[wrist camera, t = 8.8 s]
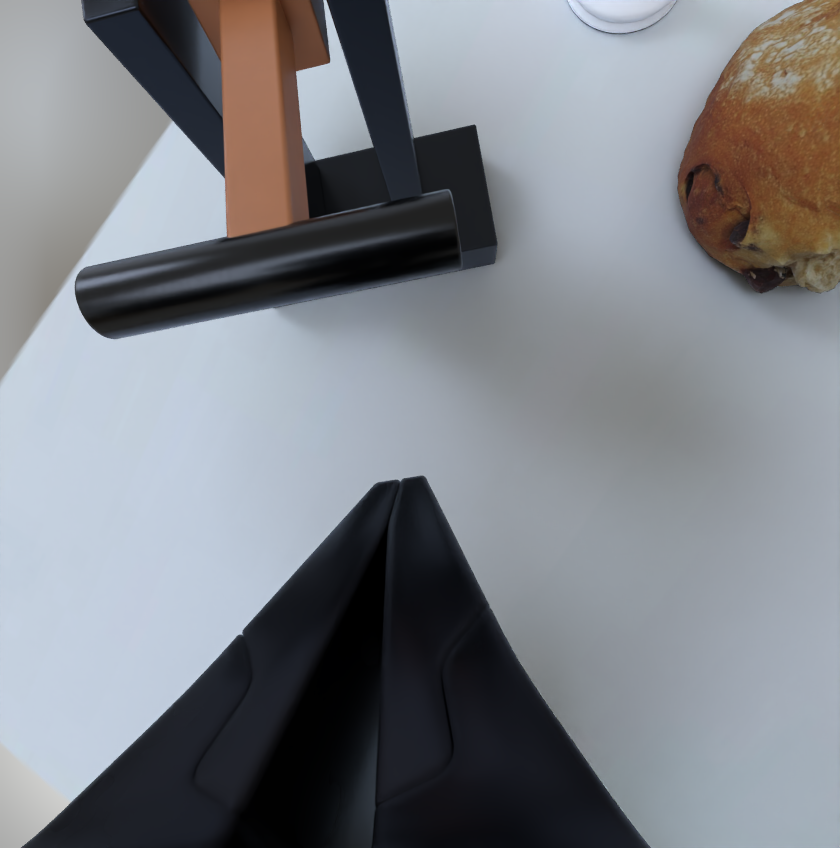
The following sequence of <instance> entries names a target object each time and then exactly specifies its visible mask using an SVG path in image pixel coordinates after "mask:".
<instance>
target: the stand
mask: <svg viewBox="0 0 840 848" xmlns="http://www.w3.org/2000/svg"><path fill="white" fill-rule="evenodd" d="M81 2H82V9H83V17H84V21H85V23H86V25H87V26H88V27H89V28H90V29H91V30H92V31H93V32H94V33H95V34H96V36H97V37H98V38H99V39H100V40H101V41H102V42H103V43H104V45H105V46H106V47H107V48H108V49H109V50H110V51H111V52H112V53H113V55H114V56H115V57H116V58H117V59H118V60H119V61H120V62H121V63H122V65H123V66H124V67H125V68H126V69H127V70H128V71H129V72H130V73H131V75H132V76H133V77H134V78H135V79H136V80H137V81H138V82H139V83H140V84H141V86H142V87H143V88H144V89H145V90H146V91H147V92H148V93H149V95H150V96H151V97H152V98H153V99H154V100H155V101H156V102H157V103H158V105H159V106H160V107H161V108H162V109H163V110H164V111H165V112H166V113H167V115H168V116H169V117H170V118H171V119H172V120H173V121H174V122H175V124H176V125H177V126H178V127H179V128H180V129H181V130H182V131H183V132H184V134H185V135H186V136H187V137H188V138H189V139H190V140H191V141H192V142H193V144H194V145H195V146H196V147H197V148H198V149H199V150H200V151H201V152H202V154H203V155H204V156H205V157H206V158H207V159H208V160H209V161H210V162H211V164H212V165H213V166H214V167H215V168H216V169H217V170H218V171H219V172H220V174H221V175H222V176H223V177H224V178H225V162H224V133H223V104H222V75H221V61H220V60H219V58H218V56H217V54H216V52H215V50H214V48H213V47H212V45H211V43H210V41H209V39H208V37H207V36H206V34H205V32H204V30H203V28H202V26H201V24H200V23H199V21H198V19H197V17H196V15H195V13H194V12H193V10H192V8H191V6H190V4H189V2H188V0H81ZM327 3H328V6H329V9H330V12H331V15H332V18H333V22H334V25H335V28H336V31H337V34H338V37H339V40H340V43H341V46H342V50H343V53H344V56H345V59H346V62H347V65H348V68H349V71H350V74H351V78H352V81H353V84H354V87H355V90H356V93H357V96H358V99H359V103H360V106H361V109H362V112H363V115H364V118H365V121H366V124H367V127H368V131H369V134H370V137H371V140H372V143H373V146H374V148H369V149H365V150H360V151H356V152H352V153H347V154H343V155H338V156H334V157H330V158H325V159H321V160H316V161H315V160H314V158H313V156H312V154H311V152H310V150H309V148H308V147H307V145H306V143H305V141H304V139H303V137H302V145H303V156H304V167H305V178H306V189H307V200H308V211H309V219H311V218H315V217H320V216H325V215H329V214H334V213H338V212H343V211H348V210H352V209H357V208H361V207H366V206H371V205H375V204H380V203H385V202H389V201H394V200H398V199H403V198H408V197H412V196H417V195H422V194H426V193H431V192H435V191H440V190H445V189H449V190H450V192H451V194H452V198H453V203H454V209H455V214H456V220H457V226H458V232H459V239H460V246H461V254H462V269H461V270H465V269H470V268H475V267H480V266H485V265H490V264H494V263H495V259H496V251H497V238H496V233H495V227H494V222H493V217H492V211H491V206H490V200H489V195H488V189H487V184H486V178H485V173H484V167H483V162H482V156H481V151H480V145H479V140H478V134H477V129H476V125H470V126H466V127H461V128H457V129H453V130H448V131H444V132H439V133H435V134H431V135H426V136H422V137H418V138H414V137H413V131H412V126H411V120H410V115H409V110H408V104H407V99H406V93H405V88H404V83H403V77H402V72H401V66H400V61H399V56H398V50H397V45H396V39H395V34H394V29H393V23H392V18H391V12H390V7H389V2H388V0H327ZM458 271H460V270H458ZM453 272H455V271H453ZM448 273H450V272H448ZM443 274H445V273H443ZM438 275H440V274H438ZM433 276H435V275H433ZM428 277H430V276H428ZM423 278H425V277H423ZM418 279H420V278H418ZM413 280H415V279H413ZM408 281H410V280H408ZM403 282H405V281H403ZM398 283H400V282H398ZM393 284H395V283H393ZM388 285H390V284H388ZM383 286H385V285H383ZM378 287H380V286H378ZM373 288H375V287H373ZM368 289H370V288H368ZM363 290H365V289H363ZM359 291H360V290H359ZM354 292H355V291H354ZM349 293H350V292H349ZM344 294H345V293H344ZM339 295H340V294H339ZM334 296H335V295H334ZM329 297H330V296H329ZM324 298H325V297H324ZM319 299H320V298H319ZM314 300H315V299H314ZM309 301H310V300H309ZM304 302H305V301H304ZM299 303H300V302H299ZM294 304H295V303H294ZM289 305H290V304H289ZM284 306H285V305H284ZM279 307H280V306H279ZM274 308H275V307H274Z"/></svg>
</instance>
